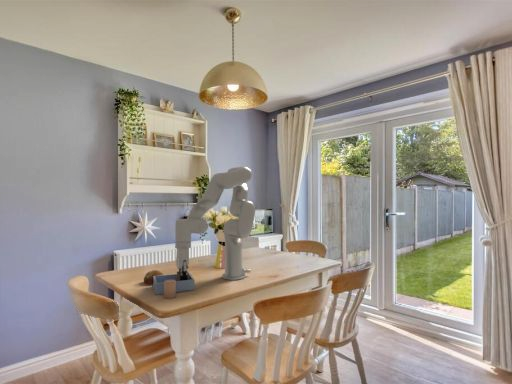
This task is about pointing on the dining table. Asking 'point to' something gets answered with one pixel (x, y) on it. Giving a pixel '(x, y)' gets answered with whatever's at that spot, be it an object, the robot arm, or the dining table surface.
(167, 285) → the terracotta cylinder
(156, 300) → the dining table surface
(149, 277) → the bread roll
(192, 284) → the tote
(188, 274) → the walnut cube
